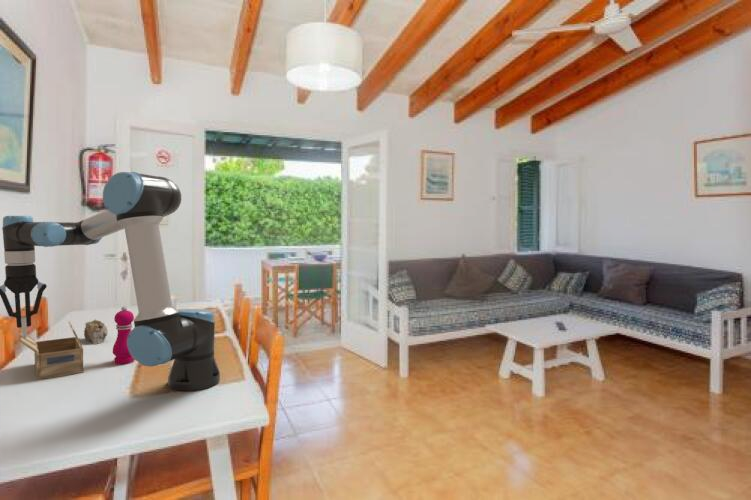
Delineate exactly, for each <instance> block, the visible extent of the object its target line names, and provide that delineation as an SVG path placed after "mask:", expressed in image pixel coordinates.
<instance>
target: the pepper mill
mask: <svg viewBox="0 0 751 500" xmlns="http://www.w3.org/2000/svg"><path fill="white" fill-rule="evenodd" d="M134 319H135V315H134V314H133V312H132V311H130V310H128V307H127V306H124V305H123V306H121V310H120V311H117V313H115V315H114V323H116V325H115V327H116V328H115V329H116V330H117V336H116V340H115V342H114V344H113V347H112V354H113V355H114V356H115V357H114V358H113V359H114V364H116V365H120V366H121V365H128V364H132V363H134V362H135V361H136V360H135V359H134V358H133V357H132V356H131V354H130V352H129V350H128V346H127V338H128V336H129V333H130V332H131V331H132V329H133V322H134Z"/></svg>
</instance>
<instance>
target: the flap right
mask: <svg viewBox="0 0 751 500" xmlns="http://www.w3.org/2000/svg"><path fill="white" fill-rule="evenodd" d="M67 323H68V325H69V327H70V329H71V332H73V335H74V337H76V339H77V341H78V343H79V344H80V346H82V347H83V345H82V344H81V343H82V342H81V341H80V339H79V337H78V335H77V333H76V331H75V328H74V327H73V325H72V324H71V321H68V322H67Z"/></svg>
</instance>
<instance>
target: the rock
mask: <svg viewBox="0 0 751 500" xmlns="http://www.w3.org/2000/svg"><path fill="white" fill-rule="evenodd" d="M83 333H84V334H83V337H84V339H85V340H87V341H89V342H91V343H92V344H93V345H98V344H100V343H103V342H104V341H105V340H106V338H107V336H108V328H107V326H106V325H105V323H103V322H102V321H101V320H97V319H94V320H92V321H87V322H86V323H85V327H84V331H83Z"/></svg>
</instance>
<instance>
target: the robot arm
mask: <svg viewBox="0 0 751 500" xmlns="http://www.w3.org/2000/svg"><path fill="white" fill-rule="evenodd" d="M102 202H103V205H104V207H105V208H106V210H104V211H101V212H99V213H97V214H94V215H92V216H90V217H87V218H85V219H82V220H80V221H77V222H70V221H69V222H68V221H67V222H65V221H64V222H63V221H62V222H57V221H34V218H33V217H32V216H31V215H5V216H4V217H3V218H2V227H1V230H2V240H3V249H4V251H3V254H4V264H5V266H4V268H5V269H4V270H5V273H4V274H5V280H4V282H3V284H2V285H0V298H1V300H2V304H3V305H4V307H5V310H6V312H7V314H8V316H9V317H11V318H15V319H16V327H17V328H19V329H20V328H21V331H22V337H23V338H27V335H28V327H31V326H32V317H33V315H37V314H38V313H39V308H40V304H41V300H42V297H43V294H44V291H45V289H46V288H47V287H48V286H47V284H46V283H43V282H40V281H39V279H38V277H37V267H36V264H35V263H36V252H35V251H36V250H35V247H45V248H47V247H50V248H52V247H57V246H89V245H96V244H99V242H101V240H102V238H104V237H106V236H109V235H112V234H114V233H118V232H119V231H122V230H124V232H125V233H124V234H125V238H126V239H125V240H126V245H127V252H128V256H129V262H130V270H131V274H132V279H133V286H134V293H135V298H136V304H137V310H138V312H137V315H136V316H134V320H133V325H134V328H132V329H131V332H130V333H129V336H128V338H127V346H128V350H129V352H130V354H131V356H132V357H133V358H134V359H135V360H134V361H135V362H137V363H139V364H140V365H142V366H145V367H148V368H149V367H151V368H152V367H156V366H159V365H164V364H166V363H168V362H170V361H173V363H172V365H171V368H170V372H169V375H168V378H167V387H168V388H170V389H171V390H174V391H178V392H179V391H180V392H190V391H191V392H192V391H200V390H205V389H208V388H211V387H213V386H216V385H217V384H218V383H220V380H221V372H220V368H219V366H218V364H217V360H216V358H215V328H216V327H215V325H216V321H215V314H214V313H213V311H211V310H208V309H198V308H197V309H196V308H192V309H191V308H187V309H186V308H185V309H183V308H182V309H176V308H175V307H173V304H172V303H173V302H172V295H171V290H170V285H169V278H168V272H167V266H166V260H165V255H164V250H163V249H164V247H163V242H162V237H161V231H160V223H161V222H162V221H163V220H164V217H167V216H169V215H172V214H173V213H175V212H176V211H177V210H178V209H179V207H180V206H181V203H182V192H181V190H180V188H179V187H178V185H177V183H175V182H174V181H173V180H171V179H169V178H166V177H163V176H156V175H152V174H151V175H150V174H144V173H138V172H135V171H132V172H130V171H129V172H128V171H121V172H117V173H115V174H113V175H112V176H111V177H109V179H108V180H107V183H105V185H104V187H103V190H102ZM36 286H37V287H36ZM35 287H36V288H37V293H36V298H35V300H34V305H33V308H32V310H31V294H30V293H31V292H32V291H34V289H35ZM7 289H8V290H9V291H11V293H13V294H14V302H15V303H14V304H15V305H14V307H15V312H14V310H13V309H12V305H11V303H10V301H9V298H8V296H7V293H6V291H7ZM20 294H24V303H25V309H24V310H25V315H24V316H23V315H22V308H21V295H20Z"/></svg>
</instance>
